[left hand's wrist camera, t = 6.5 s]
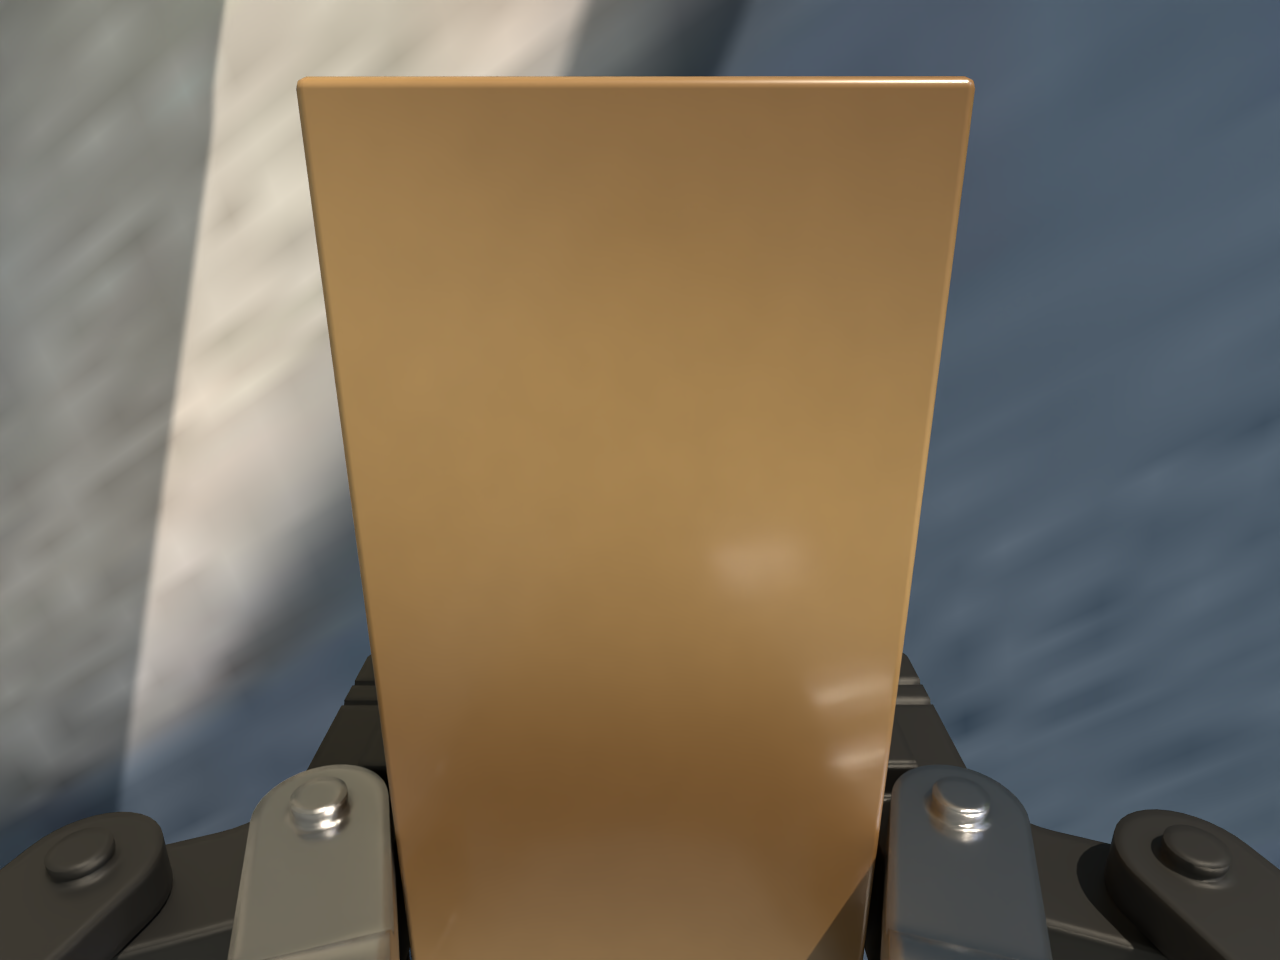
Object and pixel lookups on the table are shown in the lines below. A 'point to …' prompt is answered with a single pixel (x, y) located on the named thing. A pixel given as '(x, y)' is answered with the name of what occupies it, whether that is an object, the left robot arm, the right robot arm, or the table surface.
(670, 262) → the post
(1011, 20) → the table surface
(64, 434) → the table surface
